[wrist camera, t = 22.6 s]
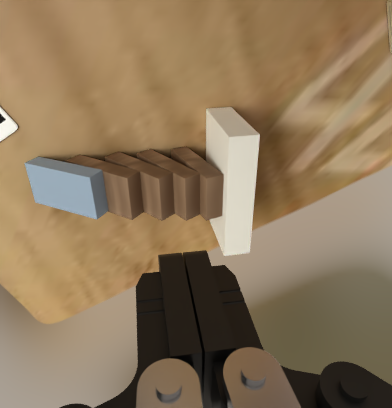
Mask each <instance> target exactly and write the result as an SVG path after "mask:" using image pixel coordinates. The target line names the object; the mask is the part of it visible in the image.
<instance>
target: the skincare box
mask: <svg viewBox="0 0 392 408" xmlns="http://www.w3.org/2000/svg"><path fill="white" fill-rule="evenodd" d="M387 17H388V31H389V43H390V53H391V54H392V0H388V1H387Z"/></svg>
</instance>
